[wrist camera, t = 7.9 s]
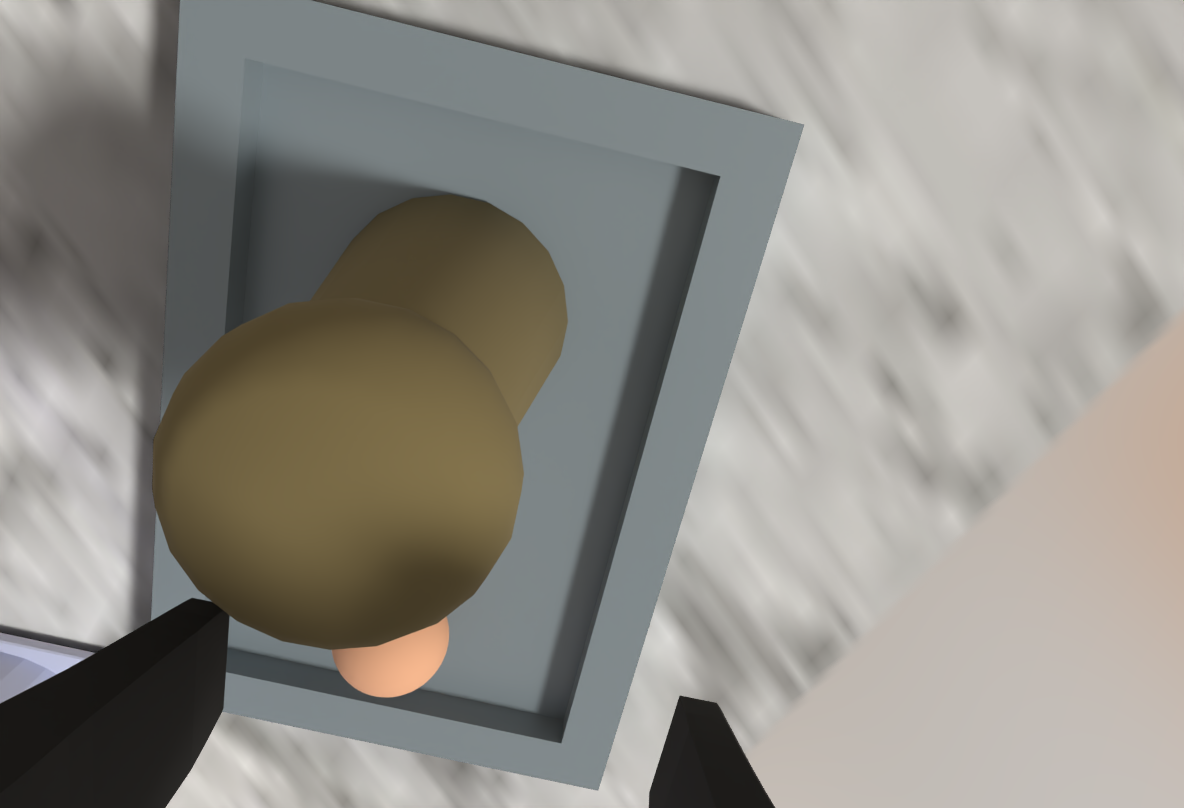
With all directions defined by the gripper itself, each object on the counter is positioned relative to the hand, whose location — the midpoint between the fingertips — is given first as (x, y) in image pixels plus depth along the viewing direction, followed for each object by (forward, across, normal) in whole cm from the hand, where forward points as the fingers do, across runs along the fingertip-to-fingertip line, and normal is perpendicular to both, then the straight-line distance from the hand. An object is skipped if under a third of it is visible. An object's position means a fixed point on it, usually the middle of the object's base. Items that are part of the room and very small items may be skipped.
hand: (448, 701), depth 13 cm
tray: (+10, +2, 0) cm, 11 cm away
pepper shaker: (+10, +2, -4) cm, 11 cm away
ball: (+10, +2, +6) cm, 12 cm away
